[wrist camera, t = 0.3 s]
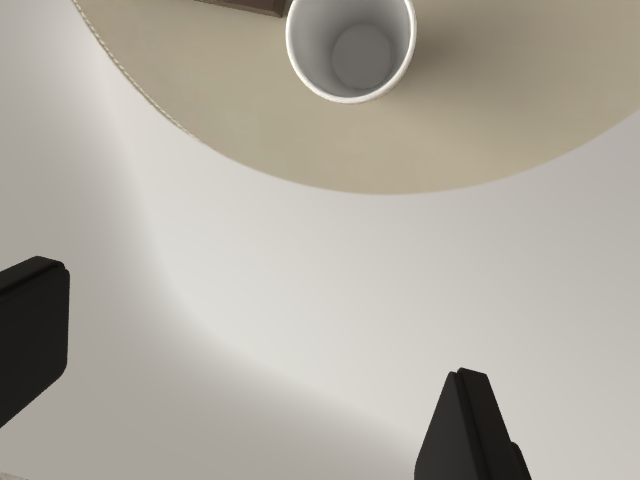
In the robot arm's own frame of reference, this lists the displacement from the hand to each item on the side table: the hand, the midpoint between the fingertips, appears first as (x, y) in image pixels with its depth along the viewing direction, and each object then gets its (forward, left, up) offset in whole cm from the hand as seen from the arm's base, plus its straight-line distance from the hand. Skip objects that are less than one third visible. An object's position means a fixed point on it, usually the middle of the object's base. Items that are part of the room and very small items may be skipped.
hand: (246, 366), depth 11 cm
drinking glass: (-9, -1, -31) cm, 32 cm away
